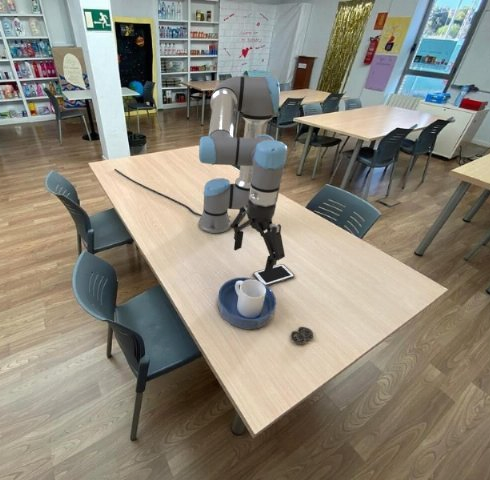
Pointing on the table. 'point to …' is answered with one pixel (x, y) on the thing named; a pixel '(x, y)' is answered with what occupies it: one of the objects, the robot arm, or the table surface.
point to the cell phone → (274, 275)
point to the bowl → (231, 313)
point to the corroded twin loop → (302, 335)
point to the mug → (250, 297)
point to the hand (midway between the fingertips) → (252, 259)
